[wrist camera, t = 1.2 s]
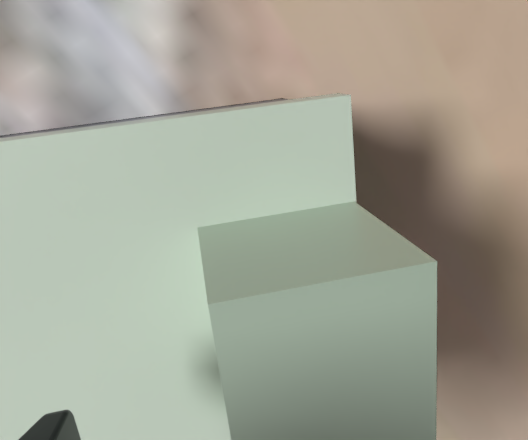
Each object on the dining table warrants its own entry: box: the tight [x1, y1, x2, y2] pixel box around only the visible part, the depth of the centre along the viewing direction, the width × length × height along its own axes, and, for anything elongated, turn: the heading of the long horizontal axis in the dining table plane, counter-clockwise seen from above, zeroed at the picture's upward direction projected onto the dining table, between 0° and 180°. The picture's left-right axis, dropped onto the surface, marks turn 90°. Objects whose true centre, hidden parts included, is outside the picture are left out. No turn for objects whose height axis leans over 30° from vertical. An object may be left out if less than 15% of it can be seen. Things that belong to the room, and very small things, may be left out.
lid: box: [0, 93, 437, 440], centre depth 9 cm, size 13×10×5 cm
